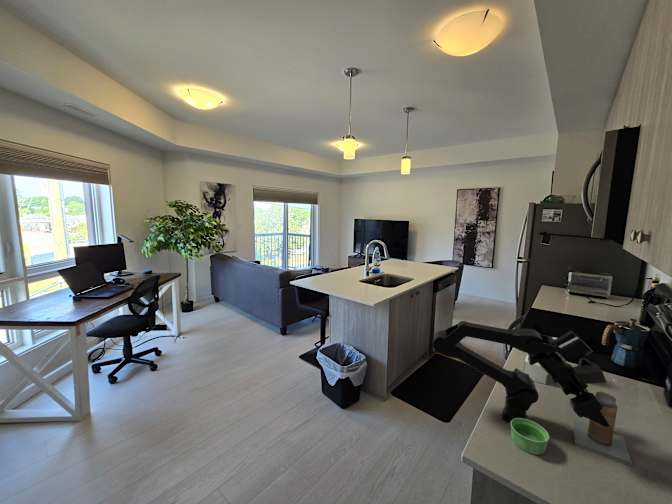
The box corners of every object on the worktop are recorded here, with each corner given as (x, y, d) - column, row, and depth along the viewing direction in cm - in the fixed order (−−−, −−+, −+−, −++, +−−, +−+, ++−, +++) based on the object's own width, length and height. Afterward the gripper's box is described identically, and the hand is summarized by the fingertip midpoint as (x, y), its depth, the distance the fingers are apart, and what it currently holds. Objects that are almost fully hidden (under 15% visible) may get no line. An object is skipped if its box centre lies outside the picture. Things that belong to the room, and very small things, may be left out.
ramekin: (540, 463, 72) (542, 447, 72) (503, 440, 80) (504, 426, 79) (552, 446, 78) (554, 432, 77) (516, 426, 85) (518, 413, 84)
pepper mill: (607, 448, 76) (614, 404, 74) (584, 435, 80) (590, 393, 78) (614, 441, 78) (621, 398, 77) (591, 429, 83) (597, 388, 81)
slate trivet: (631, 466, 72) (631, 462, 72) (575, 444, 78) (575, 441, 78) (622, 439, 80) (623, 436, 80) (572, 421, 87) (573, 418, 87)
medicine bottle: (525, 370, 116) (528, 342, 114) (546, 376, 111) (549, 348, 110) (523, 377, 110) (526, 349, 109) (545, 384, 106) (549, 355, 104)
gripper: (597, 371, 70) (651, 426, 67) (574, 341, 87) (616, 384, 83) (554, 390, 75) (603, 443, 71) (540, 359, 91) (579, 400, 88)
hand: (601, 415), depth 78 cm, fingers open, 9 cm apart
